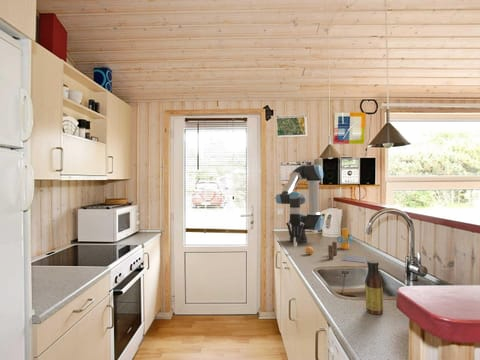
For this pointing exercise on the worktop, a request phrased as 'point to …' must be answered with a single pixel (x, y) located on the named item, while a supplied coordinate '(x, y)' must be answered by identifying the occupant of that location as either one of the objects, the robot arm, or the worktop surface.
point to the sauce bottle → (373, 289)
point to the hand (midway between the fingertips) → (295, 246)
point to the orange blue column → (345, 239)
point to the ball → (309, 250)
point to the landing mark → (355, 259)
